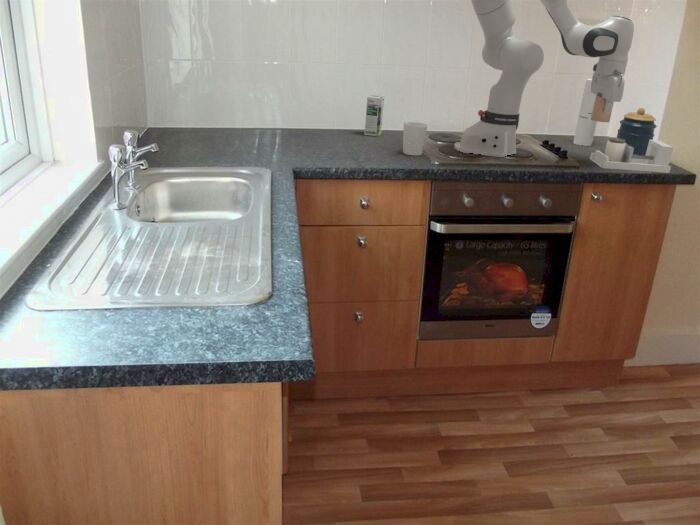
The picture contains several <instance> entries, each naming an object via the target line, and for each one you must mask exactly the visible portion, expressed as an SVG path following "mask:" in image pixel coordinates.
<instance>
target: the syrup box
mask: <svg viewBox="0 0 700 525" xmlns="http://www.w3.org/2000/svg"><path fill="white" fill-rule="evenodd" d="M384 104H385V95H384V96H383V95H373V94H369V95H367V96H366V107H365V108H366V110H365V124H364V131H363V132H364V136H370V137H371V136H373V137H380V135H381V134H382V126H383V117H384V116H383V115H384Z"/></svg>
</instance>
